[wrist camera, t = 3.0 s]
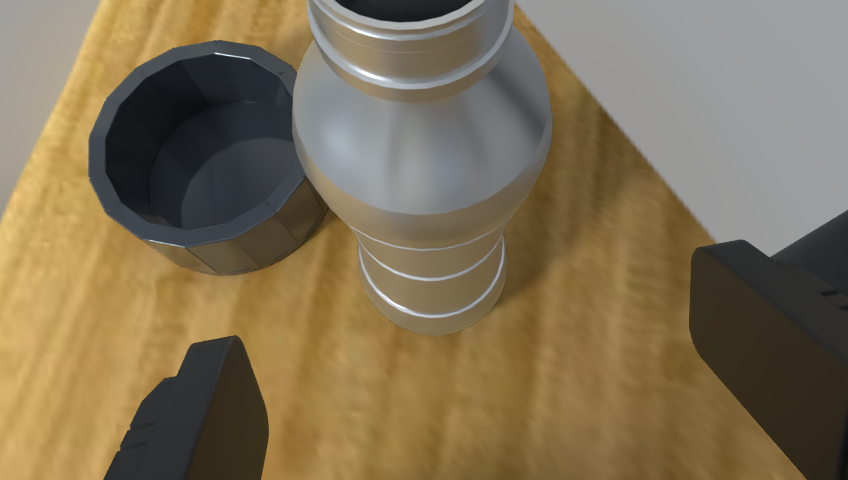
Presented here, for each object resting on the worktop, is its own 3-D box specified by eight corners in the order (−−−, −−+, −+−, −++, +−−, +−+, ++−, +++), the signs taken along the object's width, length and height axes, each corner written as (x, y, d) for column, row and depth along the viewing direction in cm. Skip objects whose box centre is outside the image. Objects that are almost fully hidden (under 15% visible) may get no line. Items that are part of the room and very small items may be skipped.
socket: (322, 79, 32) (303, 23, 28) (347, 254, 29) (330, 220, 25) (136, 113, 32) (88, 62, 28) (140, 293, 29) (86, 266, 25)
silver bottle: (453, 188, 30) (459, -255, 11) (530, 300, 28) (697, -12, 9) (341, 253, 29) (140, -110, 10) (412, 373, 27) (325, 196, 8)
